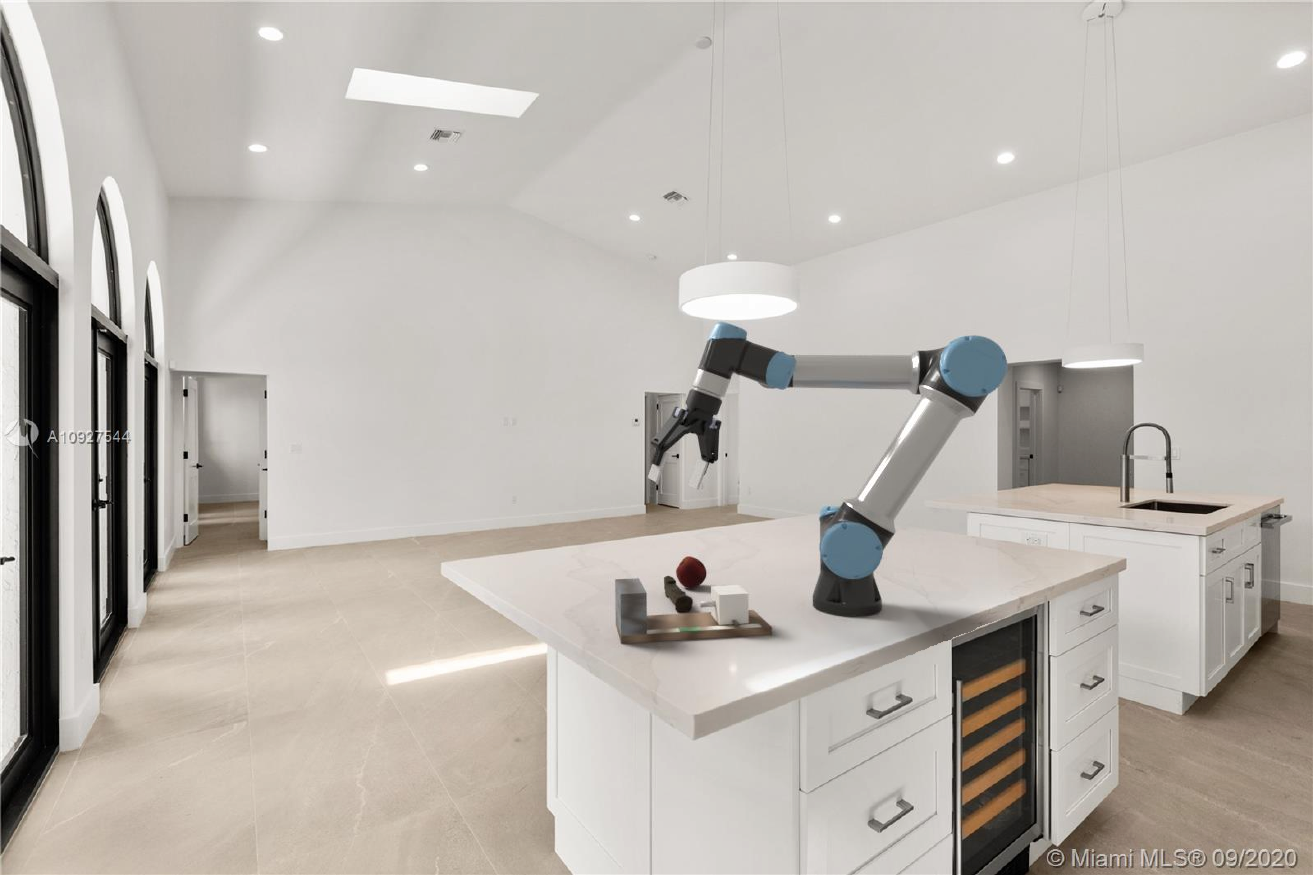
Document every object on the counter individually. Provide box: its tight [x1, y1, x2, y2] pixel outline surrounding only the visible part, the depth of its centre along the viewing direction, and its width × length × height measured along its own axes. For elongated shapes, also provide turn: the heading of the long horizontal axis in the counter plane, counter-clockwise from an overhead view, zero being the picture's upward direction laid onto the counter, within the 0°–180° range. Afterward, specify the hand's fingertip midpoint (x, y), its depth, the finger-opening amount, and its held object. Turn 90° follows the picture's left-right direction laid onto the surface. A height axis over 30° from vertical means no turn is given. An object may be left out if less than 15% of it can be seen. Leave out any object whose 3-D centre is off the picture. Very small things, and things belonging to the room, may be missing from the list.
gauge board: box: [614, 577, 773, 645], centre depth 128 cm, size 30×12×10 cm, turn 99°
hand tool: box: [663, 575, 694, 614], centre depth 149 cm, size 19×4×5 cm, turn 9°
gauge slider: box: [699, 584, 749, 626], centre depth 128 cm, size 9×10×6 cm
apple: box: [675, 555, 707, 589], centre depth 161 cm, size 7×8×8 cm
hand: (673, 483), depth 138 cm, fingers open, 13 cm apart
